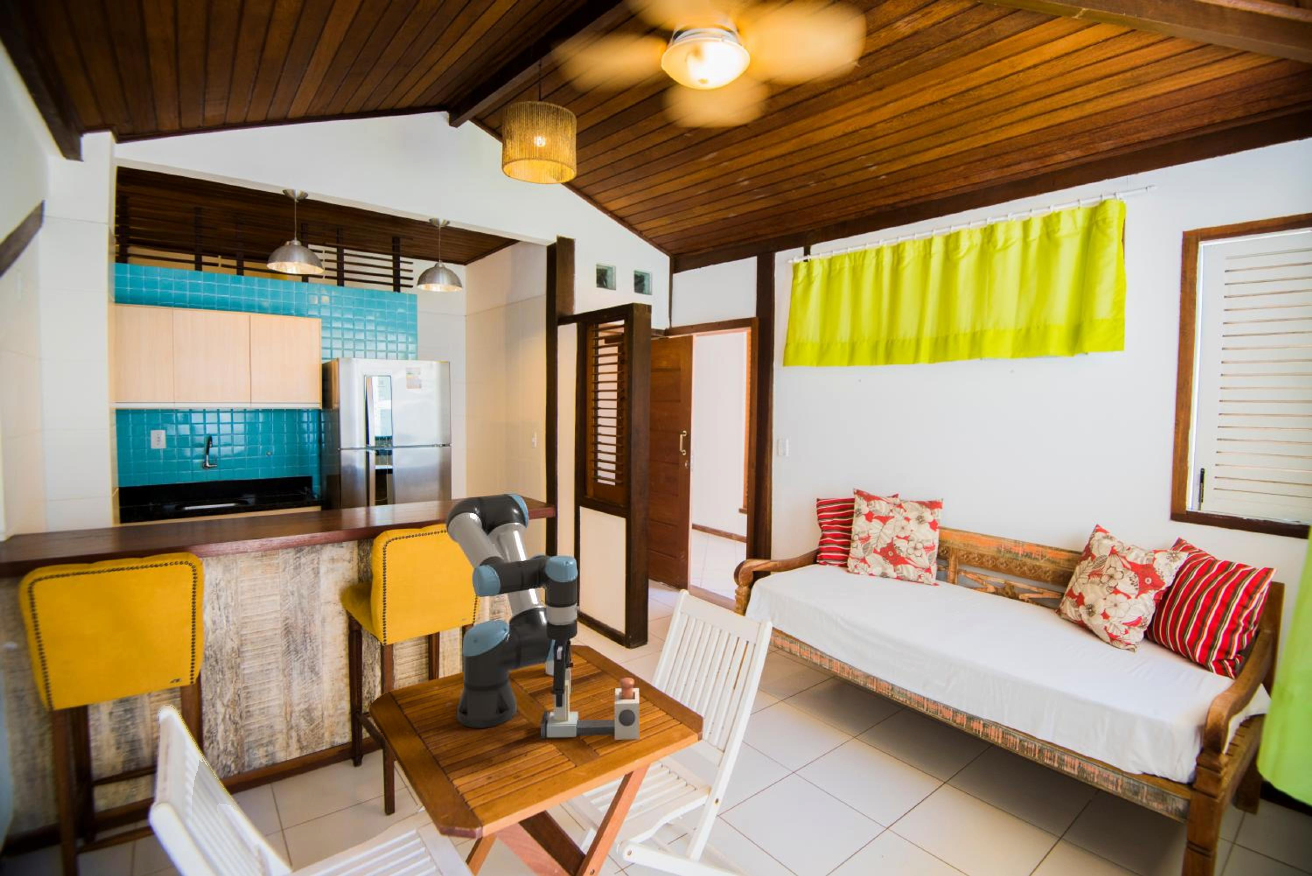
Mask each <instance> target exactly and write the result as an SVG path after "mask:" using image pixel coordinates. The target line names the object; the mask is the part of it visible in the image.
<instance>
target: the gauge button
mask: <svg viewBox="0 0 1312 876" xmlns="http://www.w3.org/2000/svg"><path fill="white" fill-rule="evenodd" d="M619 685H620V688H621V700H629V699H633V688H634V685H635V679H634V678H632V677H622V678H621V679H620V680H619Z"/></svg>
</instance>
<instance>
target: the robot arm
mask: <svg viewBox="0 0 1312 876" xmlns="http://www.w3.org/2000/svg"><path fill="white" fill-rule="evenodd" d="M529 522H530V517H529V510H528V506H527V504H526V502H525V500H524V499H523V498H522V496H520V495H519V494H514V493H513V494H508V493H503V494H499V495H486V496H485V495H484V496H470V497H467V498H465V499H462V500H460V501H459V502H457V503H456V504H455V505H453V507H452V508H451V509H450V510H449V512H448V513H447V517H446V519H445V528H446V532H447V534H448V536H449V538H450V539H451V540H452V541H453V542H455V543H457V544H458V545H459V547H460V548H461V550H462V552H463V553H464V555H465V557H466V558H467V560H468V562H469V564H470V565H471V567H472V568H473V571H472V577H471V578H472V579H471V581H472V588H473V592H474V594H475V595H476V596H477V597H480V598H484V597H485V598H486V597H495V596H500V595H506V594H507V599H508V602H509V606H510V610H511V614H512V615H511V616H510V619H509V620H508V622H507V621H505V620H502V619H497V620H495V619H492V620H487V621H484V622H483V621H482V622H480V623H477V624H475V625H473V626H471V627H470V628H469V629H468V630H467V631H466V632H465V633H464V635H463V640H462V641H463V642H462V652H461V653H462V655H463V656H462V660H463V662H462V665H463V667H462V668H463V669H462V671H463V689H462V692H461V696H460V698H459V701H458V706H457V709H456V713H457V714H456V716H457V721H458V722H459V723H460V724H462V725H463V726H465V727H469V728H475V729H476V728H477V729H478V728H479V729H483V728H491V727H495V726H498V725H501V724H505V723H507V722H508V721H509V720H511V719H512V718H513V717H514V716H515V715H516V713H517V699H516V696H515V694H514V691H513V688H512V685H511V683H510V672H511V671H515V670H520V669H524V668H529V667H533V666H537V665H544V664H545V665H546V662H549V661H553V660H554V675H553V679H552V680H553V681H552V690H551V689H550V695H551V694H552V695H553V712H554V719H566V691H565V680H569V695H571V693H572V691H571V690H572V685H571V684H572V683H571V682H572V679H571V678H572V677H571V676H572V675H571V670H572V669H571V668H574V662H572V652H571V651H572V650H571V649H572V648H571V646H572V640H571V639H573V638H575V637H576V636H577V635H578V620H577V618H578V611H580V606H577V605H578V574H579V573H578V568H577V559H576V558H575V557H573V556H570V555H569V556H568V555H555V556H550V555H547V554H543V553H541V554H540V553H539V554H538V553H537V554H535V555H533V556H532V557H529V553H528V551H527V547H526V544H525V539H524V536H525V534H526V531H527V528H528V526H529ZM540 588H541V589H544V590H545V591H546V593H545V594H546V599H545V601H546V602H545V603H546V604H545V605H543V603H542V602H543V601H542V600H541V599H542V598H541V596H540V592H539V589H540Z"/></svg>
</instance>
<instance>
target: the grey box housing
mask: <svg viewBox="0 0 1312 876" xmlns="http://www.w3.org/2000/svg"><path fill="white" fill-rule="evenodd" d="M614 689H615V692H614V719H615V735H614V740H615V741H616V740H617V741H618V740H620V741H621V740H640V688H639V687H633V699H629V700H621V687H619V688H617V687H615V688H614Z"/></svg>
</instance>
